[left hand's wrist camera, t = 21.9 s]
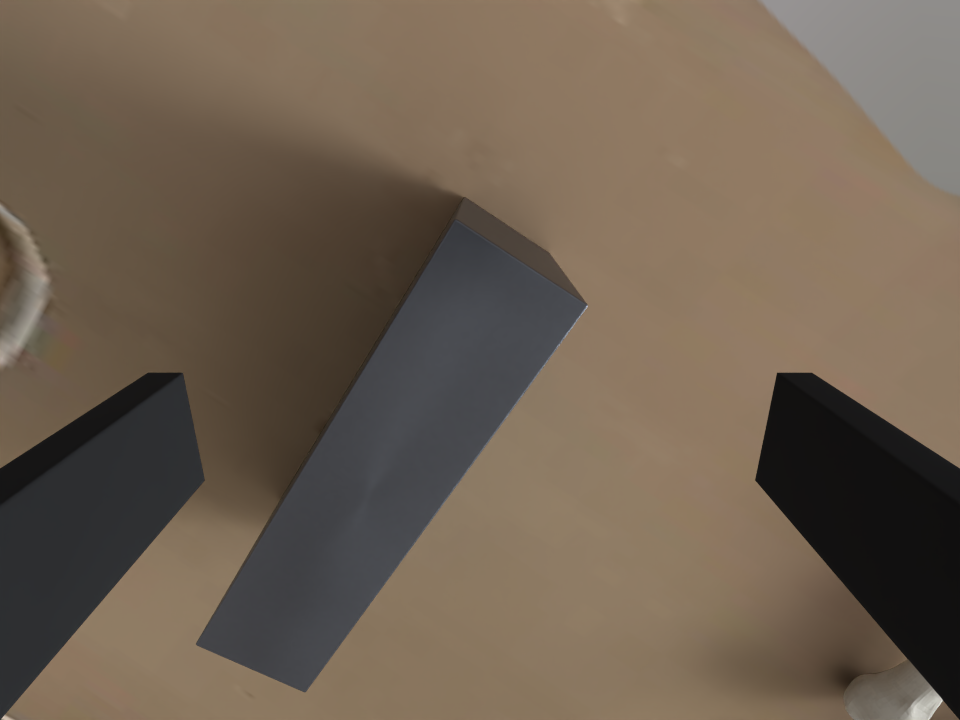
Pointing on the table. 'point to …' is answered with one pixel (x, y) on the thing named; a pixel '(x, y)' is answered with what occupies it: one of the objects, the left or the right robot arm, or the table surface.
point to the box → (396, 445)
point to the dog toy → (891, 695)
